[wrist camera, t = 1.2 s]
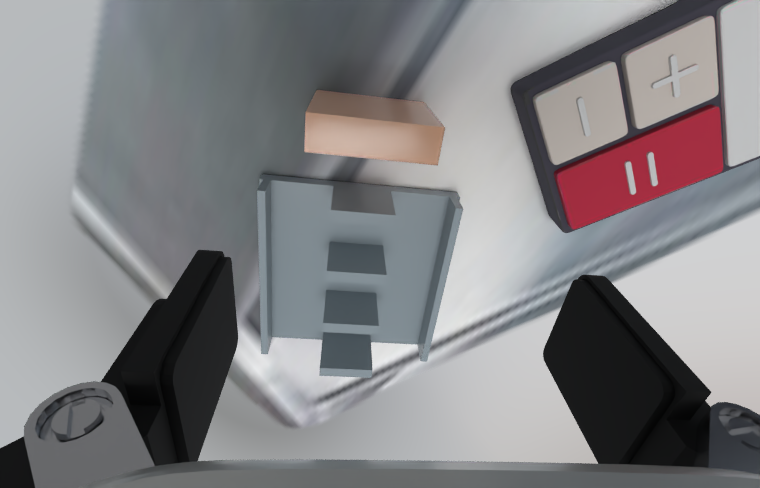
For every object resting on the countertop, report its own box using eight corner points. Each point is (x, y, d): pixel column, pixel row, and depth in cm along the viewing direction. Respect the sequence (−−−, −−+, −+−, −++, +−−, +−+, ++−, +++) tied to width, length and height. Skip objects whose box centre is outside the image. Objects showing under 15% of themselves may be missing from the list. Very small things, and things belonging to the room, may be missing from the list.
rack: (262, 174, 28) (245, 202, 24) (456, 192, 30) (474, 222, 26) (265, 328, 35) (252, 372, 31) (424, 337, 37) (433, 380, 32)
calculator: (524, 94, 24) (815, -43, 21) (504, 82, 27) (747, -36, 24) (567, 241, 29) (806, 148, 26) (545, 214, 32) (751, 130, 29)
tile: (316, 89, 26) (305, 112, 20) (424, 102, 27) (444, 127, 21) (315, 121, 27) (304, 152, 21) (418, 132, 28) (437, 165, 22)
